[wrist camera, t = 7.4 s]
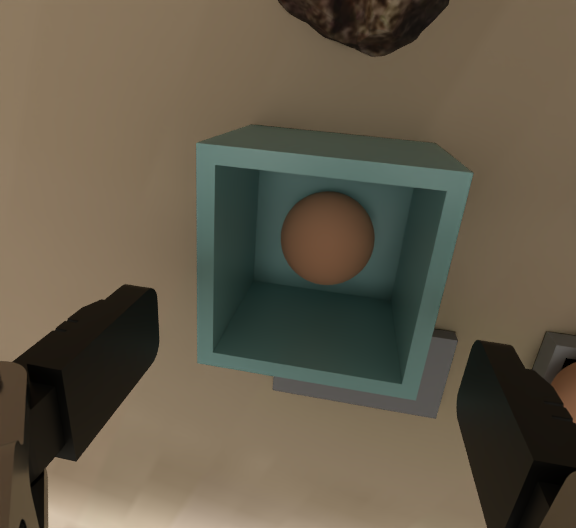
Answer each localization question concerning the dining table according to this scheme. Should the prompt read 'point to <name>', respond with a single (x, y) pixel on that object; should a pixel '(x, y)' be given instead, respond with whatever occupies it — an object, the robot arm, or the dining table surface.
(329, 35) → the stone relief
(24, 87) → the dining table surface
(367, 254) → the ball
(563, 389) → the ball
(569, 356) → the frame
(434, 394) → the card
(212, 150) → the teal open box
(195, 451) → the dining table surface
